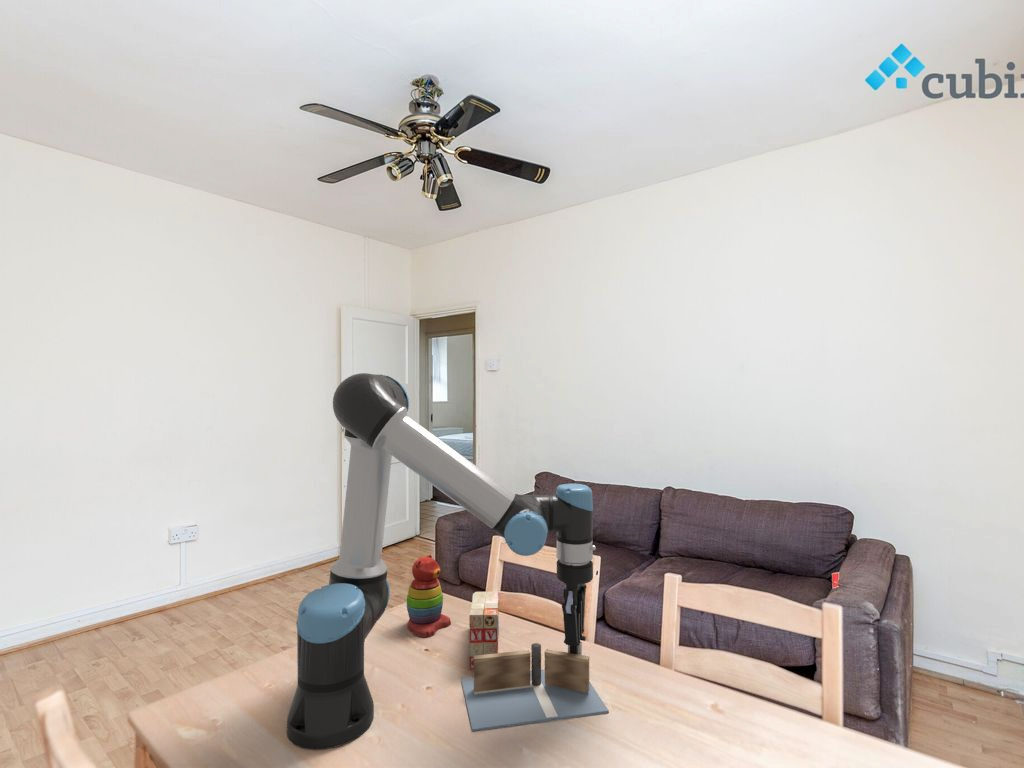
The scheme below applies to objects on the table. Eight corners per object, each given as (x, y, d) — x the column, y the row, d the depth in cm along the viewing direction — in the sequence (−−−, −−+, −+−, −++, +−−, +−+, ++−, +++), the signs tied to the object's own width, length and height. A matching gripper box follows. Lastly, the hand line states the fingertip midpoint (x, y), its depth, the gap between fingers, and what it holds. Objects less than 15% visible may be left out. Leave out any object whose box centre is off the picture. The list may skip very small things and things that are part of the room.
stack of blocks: (474, 627, 137) (474, 579, 137) (498, 627, 137) (498, 579, 137) (469, 670, 116) (469, 613, 116) (497, 670, 116) (497, 613, 116)
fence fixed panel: (474, 693, 106) (474, 654, 106) (473, 688, 108) (473, 649, 108) (542, 685, 109) (542, 647, 109) (539, 680, 111) (539, 642, 111)
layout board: (472, 731, 95) (472, 728, 95) (461, 680, 111) (461, 678, 111) (608, 712, 100) (608, 710, 100) (578, 667, 117) (578, 665, 117)
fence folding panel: (544, 684, 108) (544, 652, 108) (546, 681, 109) (546, 648, 110) (588, 693, 105) (587, 659, 105) (589, 689, 106) (589, 656, 106)
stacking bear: (427, 639, 130) (427, 566, 130) (396, 630, 135) (396, 560, 136) (454, 623, 139) (454, 555, 140) (424, 614, 145) (424, 549, 145)
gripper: (586, 572, 103) (586, 693, 103) (598, 552, 115) (598, 661, 115) (549, 567, 105) (549, 686, 105) (564, 548, 117) (564, 655, 117)
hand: (574, 673), depth 110 cm, fingers closed
